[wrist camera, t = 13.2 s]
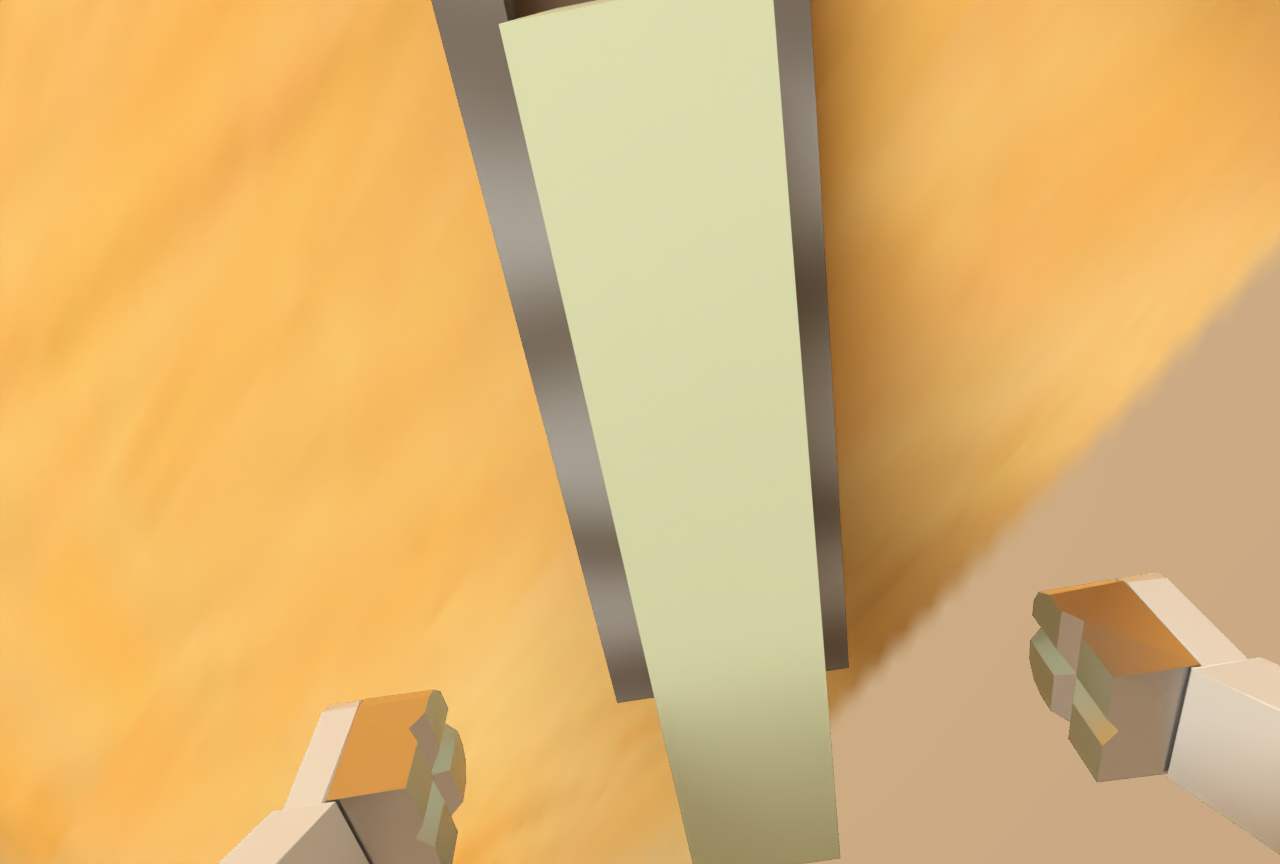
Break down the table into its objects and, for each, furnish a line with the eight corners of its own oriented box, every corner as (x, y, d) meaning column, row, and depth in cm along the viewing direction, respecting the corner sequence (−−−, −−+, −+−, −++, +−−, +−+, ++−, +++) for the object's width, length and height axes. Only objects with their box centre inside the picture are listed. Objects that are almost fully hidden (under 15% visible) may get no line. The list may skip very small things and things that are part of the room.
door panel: (747, 519, 27) (840, 858, 16) (660, 533, 27) (696, 878, 16) (679, -16, 19) (771, -30, 8) (557, 7, 19) (498, 23, 9)
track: (820, 589, 30) (848, 667, 27) (616, 622, 31) (617, 702, 27) (752, -291, 18) (789, -362, 14) (407, -218, 18) (359, -268, 15)
